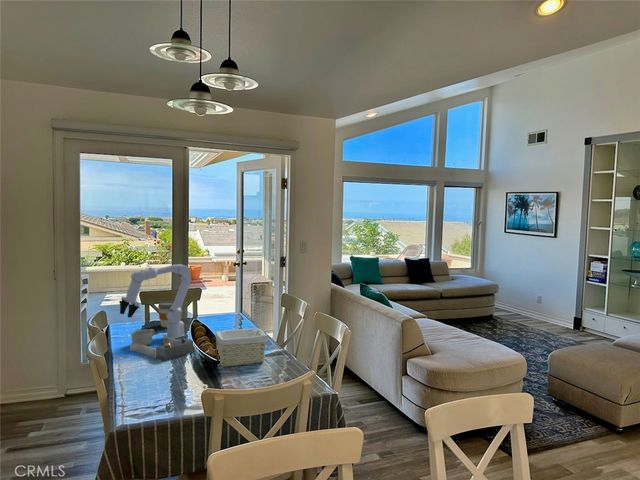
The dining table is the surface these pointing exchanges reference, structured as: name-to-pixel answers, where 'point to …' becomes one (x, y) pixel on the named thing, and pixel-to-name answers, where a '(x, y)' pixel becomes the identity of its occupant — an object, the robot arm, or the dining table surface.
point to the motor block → (165, 348)
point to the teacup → (143, 336)
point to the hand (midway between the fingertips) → (125, 315)
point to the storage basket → (240, 346)
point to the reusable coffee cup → (164, 312)
